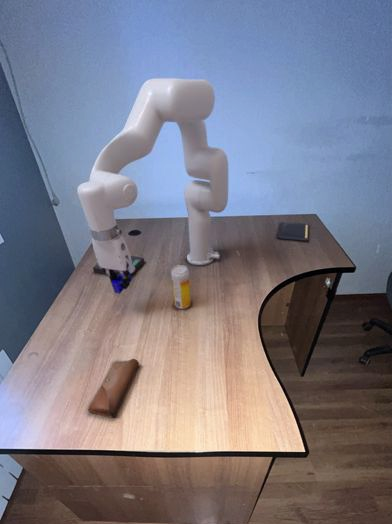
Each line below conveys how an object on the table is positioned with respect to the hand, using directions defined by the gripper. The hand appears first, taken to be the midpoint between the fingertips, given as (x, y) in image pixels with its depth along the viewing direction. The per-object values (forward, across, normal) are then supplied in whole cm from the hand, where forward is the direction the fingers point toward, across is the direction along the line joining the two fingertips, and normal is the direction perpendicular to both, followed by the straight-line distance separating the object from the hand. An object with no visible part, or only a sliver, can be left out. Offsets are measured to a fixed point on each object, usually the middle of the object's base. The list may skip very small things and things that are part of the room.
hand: (121, 285), depth 90 cm
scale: (+12, +19, -27) cm, 35 cm away
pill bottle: (+12, -18, -9) cm, 23 cm away
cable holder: (0, 0, 0) cm, 0 cm away
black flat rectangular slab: (+14, -53, -83) cm, 99 cm away
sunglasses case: (+11, -13, +32) cm, 36 cm away
